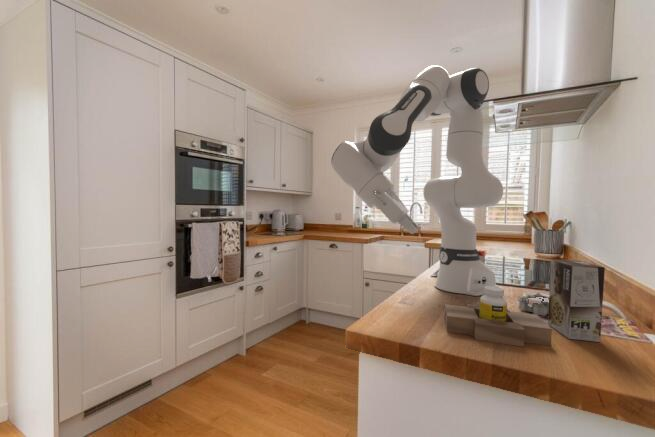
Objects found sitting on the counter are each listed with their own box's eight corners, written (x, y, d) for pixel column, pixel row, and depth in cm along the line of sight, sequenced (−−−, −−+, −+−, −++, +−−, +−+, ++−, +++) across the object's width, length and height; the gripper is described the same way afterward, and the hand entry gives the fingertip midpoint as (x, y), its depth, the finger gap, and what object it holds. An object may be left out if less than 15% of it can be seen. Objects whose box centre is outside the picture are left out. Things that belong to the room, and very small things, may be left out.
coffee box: (602, 342, 65) (606, 267, 64) (567, 339, 66) (571, 265, 65) (576, 326, 74) (580, 260, 73) (546, 323, 75) (550, 258, 74)
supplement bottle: (490, 336, 67) (493, 291, 66) (473, 326, 72) (475, 285, 72) (511, 334, 68) (513, 290, 68) (492, 324, 73) (494, 284, 73)
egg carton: (540, 317, 80) (541, 302, 80) (513, 308, 87) (514, 294, 87) (565, 312, 84) (566, 298, 84) (537, 304, 91) (538, 291, 91)
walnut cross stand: (443, 314, 80) (444, 301, 79) (532, 325, 73) (533, 311, 73) (447, 335, 66) (447, 319, 66) (555, 351, 60) (556, 333, 60)
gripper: (381, 180, 70) (425, 224, 67) (390, 185, 89) (424, 220, 87) (361, 200, 71) (403, 244, 69) (375, 200, 91) (408, 234, 88)
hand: (415, 230), depth 78 cm, fingers open, 8 cm apart
